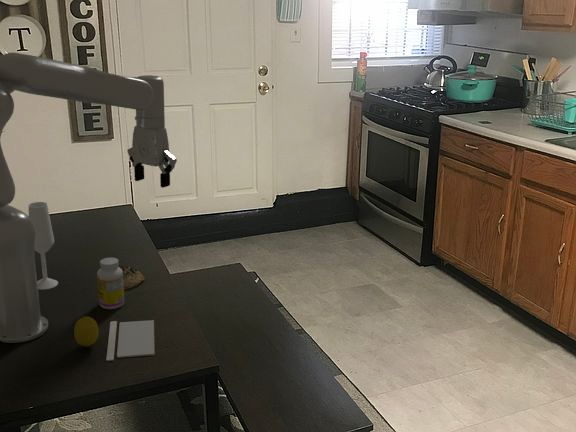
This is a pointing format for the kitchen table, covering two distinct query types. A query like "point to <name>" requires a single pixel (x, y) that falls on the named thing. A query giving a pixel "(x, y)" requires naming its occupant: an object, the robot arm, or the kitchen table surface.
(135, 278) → the bread roll
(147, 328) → the mat
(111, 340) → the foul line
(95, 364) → the kitchen table surface
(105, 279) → the supplement bottle
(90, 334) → the lemon
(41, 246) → the champagne flute
